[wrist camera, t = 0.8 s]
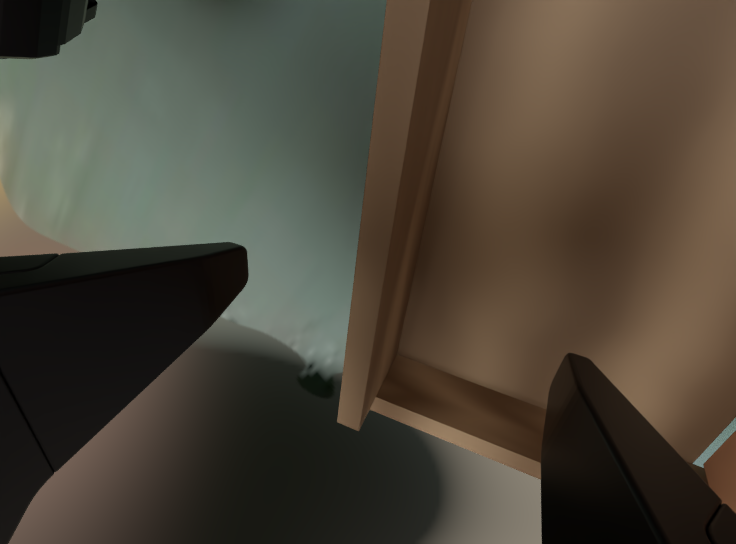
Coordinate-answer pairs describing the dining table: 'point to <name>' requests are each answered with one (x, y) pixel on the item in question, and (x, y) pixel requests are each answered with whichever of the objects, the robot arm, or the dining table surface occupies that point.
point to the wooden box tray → (548, 219)
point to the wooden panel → (723, 472)
